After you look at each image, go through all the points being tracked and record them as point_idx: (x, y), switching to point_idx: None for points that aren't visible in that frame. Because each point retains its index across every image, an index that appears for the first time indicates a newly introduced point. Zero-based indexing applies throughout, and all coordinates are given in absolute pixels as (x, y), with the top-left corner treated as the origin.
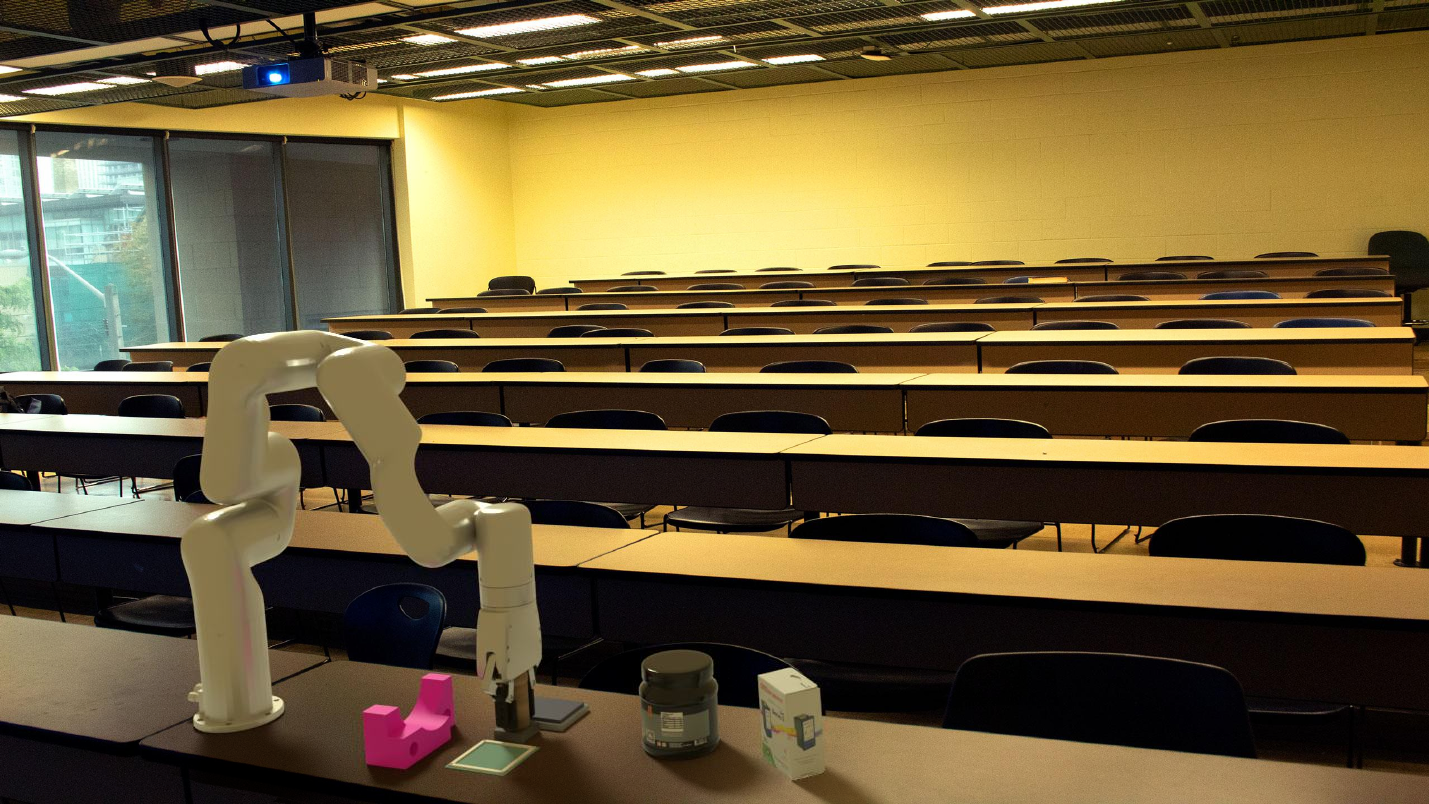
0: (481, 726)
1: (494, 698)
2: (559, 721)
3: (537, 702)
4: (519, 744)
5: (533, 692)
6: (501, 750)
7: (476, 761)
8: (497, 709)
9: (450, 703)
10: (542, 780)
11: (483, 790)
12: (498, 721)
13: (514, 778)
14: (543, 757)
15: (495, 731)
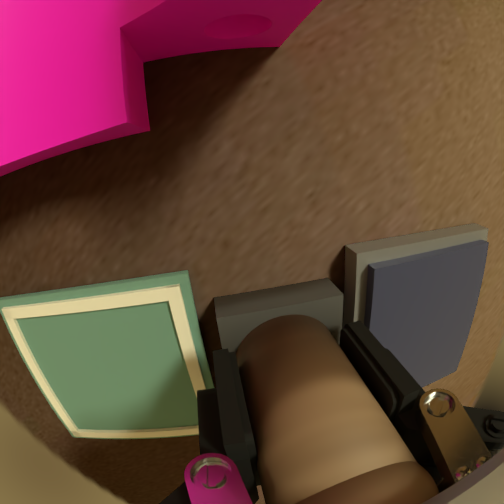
0: (304, 160)
1: (176, 494)
2: None
3: (458, 278)
4: None
5: None
6: (154, 376)
7: (63, 359)
8: (199, 435)
9: (285, 7)
10: (121, 476)
11: (24, 422)
12: (197, 393)
13: (89, 446)
14: (195, 447)
15: (217, 323)
